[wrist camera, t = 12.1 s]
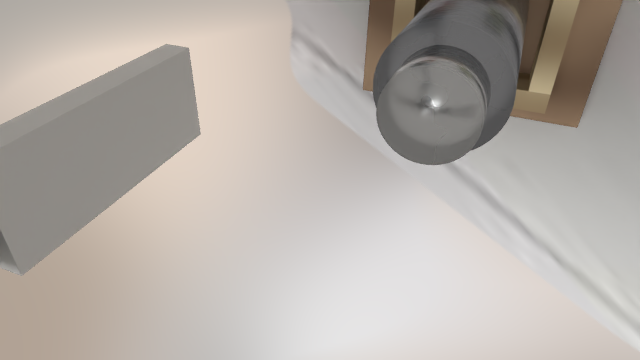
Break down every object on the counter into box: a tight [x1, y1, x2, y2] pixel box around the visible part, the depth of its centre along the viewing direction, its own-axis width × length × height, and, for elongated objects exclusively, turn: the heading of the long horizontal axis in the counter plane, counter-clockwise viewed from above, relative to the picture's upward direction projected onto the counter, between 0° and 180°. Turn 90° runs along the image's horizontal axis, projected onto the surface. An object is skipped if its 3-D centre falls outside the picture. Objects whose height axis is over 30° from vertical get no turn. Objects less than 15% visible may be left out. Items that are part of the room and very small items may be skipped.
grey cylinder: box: [373, 0, 529, 165], centre depth 19 cm, size 4×4×14 cm
